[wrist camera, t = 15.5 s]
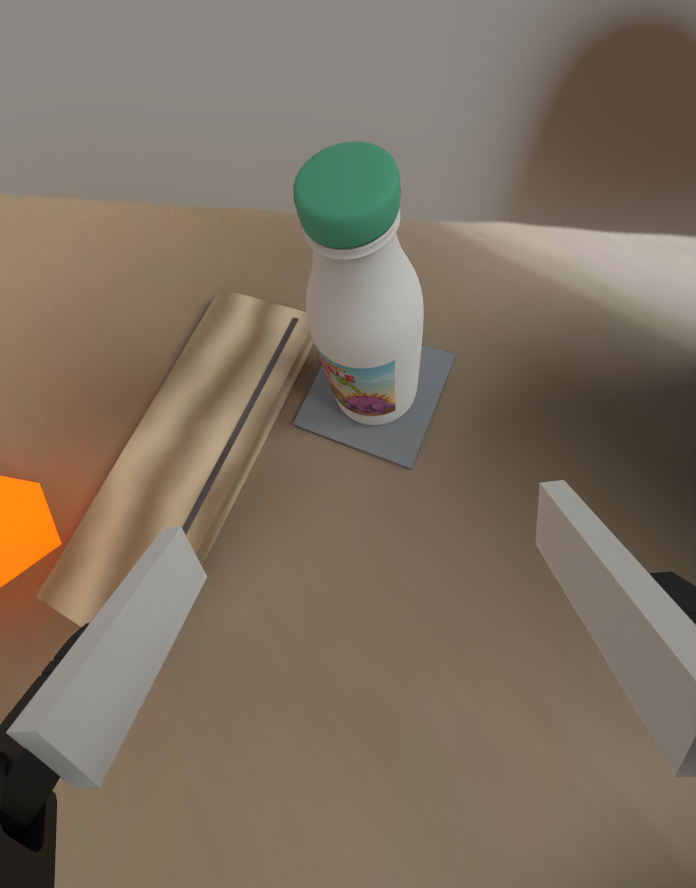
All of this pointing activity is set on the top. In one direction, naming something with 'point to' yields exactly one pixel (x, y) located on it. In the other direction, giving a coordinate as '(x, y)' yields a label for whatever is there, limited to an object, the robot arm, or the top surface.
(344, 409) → the milk bottle
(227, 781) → the top surface
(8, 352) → the top surface
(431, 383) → the plate
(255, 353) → the oak board
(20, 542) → the orange juice
